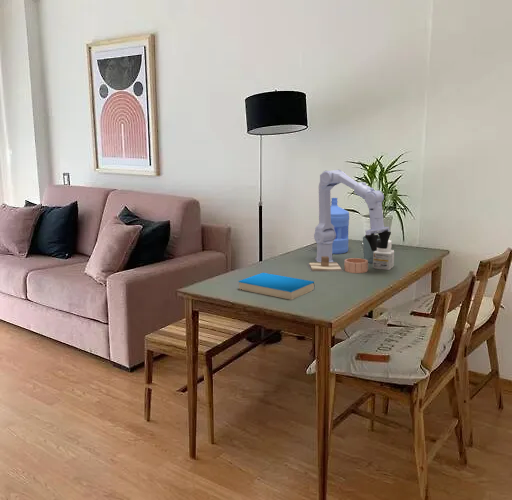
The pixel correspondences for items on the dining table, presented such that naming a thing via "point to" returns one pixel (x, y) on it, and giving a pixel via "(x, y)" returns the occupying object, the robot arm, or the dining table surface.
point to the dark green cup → (368, 250)
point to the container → (383, 256)
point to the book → (276, 285)
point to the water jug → (339, 227)
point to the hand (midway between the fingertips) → (379, 249)
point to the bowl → (356, 265)
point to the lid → (325, 265)
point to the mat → (320, 271)
